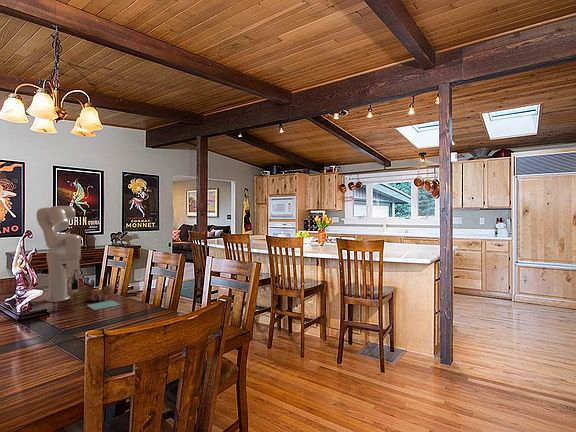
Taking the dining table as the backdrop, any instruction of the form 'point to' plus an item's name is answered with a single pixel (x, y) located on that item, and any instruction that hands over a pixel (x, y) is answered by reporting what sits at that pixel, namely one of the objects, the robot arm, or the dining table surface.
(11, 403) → the dining table surface
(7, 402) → the dining table surface
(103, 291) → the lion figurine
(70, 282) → the tube
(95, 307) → the card
